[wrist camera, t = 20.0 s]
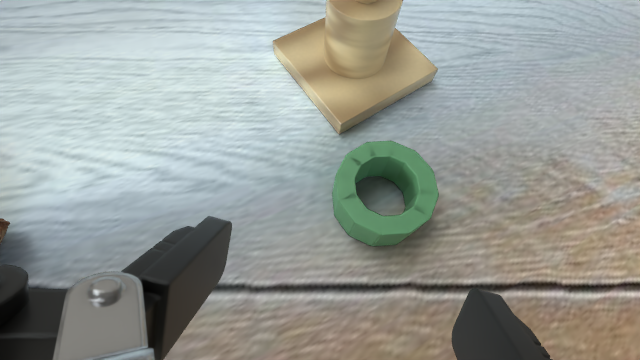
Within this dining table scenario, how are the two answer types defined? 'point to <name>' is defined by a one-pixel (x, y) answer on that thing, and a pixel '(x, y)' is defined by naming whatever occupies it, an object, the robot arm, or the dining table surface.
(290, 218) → the dining table surface
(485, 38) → the dining table surface
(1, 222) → the brown piece
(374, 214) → the ring
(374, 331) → the dining table surface
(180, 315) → the robot arm
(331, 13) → the peg stand
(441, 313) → the dining table surface
